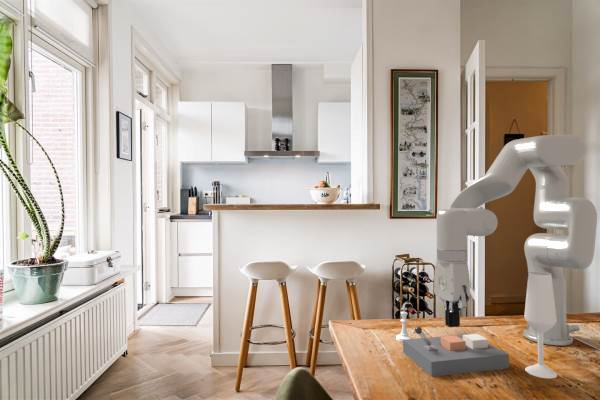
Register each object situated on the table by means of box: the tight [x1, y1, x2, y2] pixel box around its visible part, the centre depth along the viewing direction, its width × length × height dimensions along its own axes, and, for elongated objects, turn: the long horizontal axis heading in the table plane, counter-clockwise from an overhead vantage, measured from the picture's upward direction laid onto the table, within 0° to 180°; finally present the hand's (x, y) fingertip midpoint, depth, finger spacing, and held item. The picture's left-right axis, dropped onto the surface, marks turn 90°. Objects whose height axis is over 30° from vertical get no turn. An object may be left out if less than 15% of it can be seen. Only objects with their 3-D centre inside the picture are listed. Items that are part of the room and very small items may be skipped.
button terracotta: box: [440, 335, 466, 351], centre depth 102 cm, size 4×4×2 cm
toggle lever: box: [414, 326, 431, 346], centre depth 100 cm, size 2×2×6 cm
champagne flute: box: [523, 272, 558, 379], centre depth 94 cm, size 7×7×24 cm
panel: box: [402, 333, 510, 377], centre depth 102 cm, size 21×15×4 cm
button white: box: [462, 333, 489, 349], centre depth 103 cm, size 4×4×2 cm
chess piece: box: [395, 305, 413, 343], centre depth 117 cm, size 5×5×10 cm
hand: (452, 325), depth 102 cm, fingers closed
